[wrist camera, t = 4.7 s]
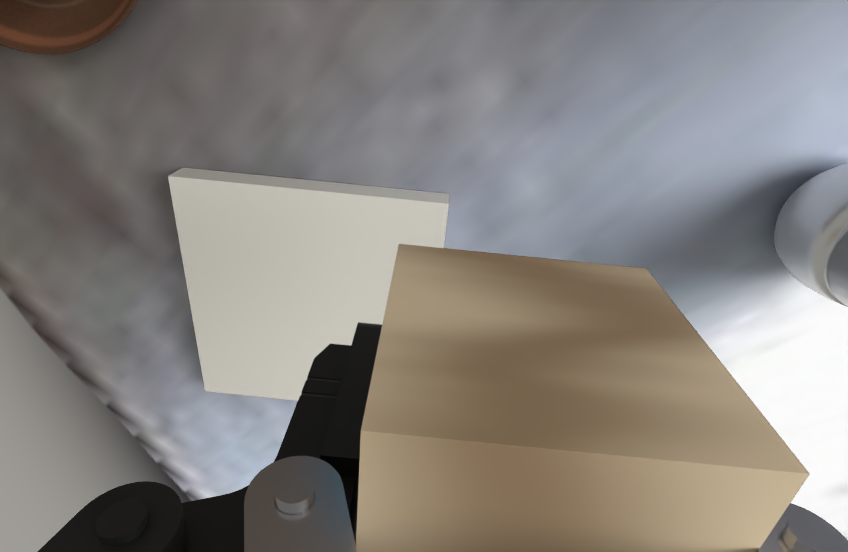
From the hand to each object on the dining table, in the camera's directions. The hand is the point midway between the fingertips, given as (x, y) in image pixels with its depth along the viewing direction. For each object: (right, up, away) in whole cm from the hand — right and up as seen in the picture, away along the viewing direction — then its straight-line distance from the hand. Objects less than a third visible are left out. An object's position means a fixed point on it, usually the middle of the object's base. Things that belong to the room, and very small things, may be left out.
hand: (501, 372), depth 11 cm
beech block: (0, 0, 0) cm, 1 cm away
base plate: (-8, +1, +18) cm, 20 cm away
